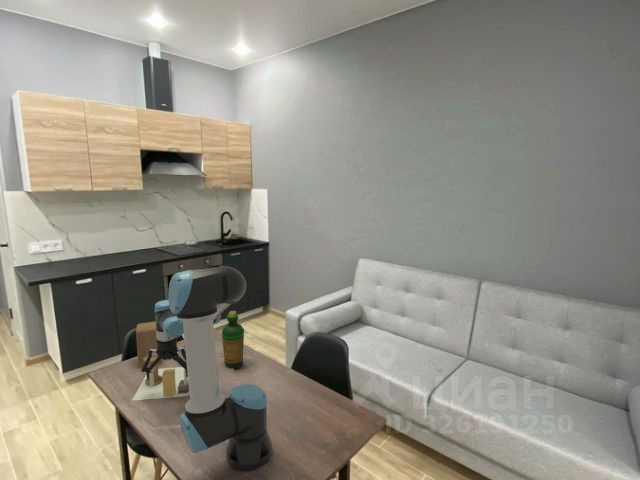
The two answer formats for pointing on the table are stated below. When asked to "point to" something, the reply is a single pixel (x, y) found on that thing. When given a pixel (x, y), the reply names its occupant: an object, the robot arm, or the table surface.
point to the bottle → (233, 342)
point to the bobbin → (156, 376)
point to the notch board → (183, 387)
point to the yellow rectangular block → (169, 382)
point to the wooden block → (145, 341)
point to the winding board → (159, 387)
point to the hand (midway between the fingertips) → (169, 384)
